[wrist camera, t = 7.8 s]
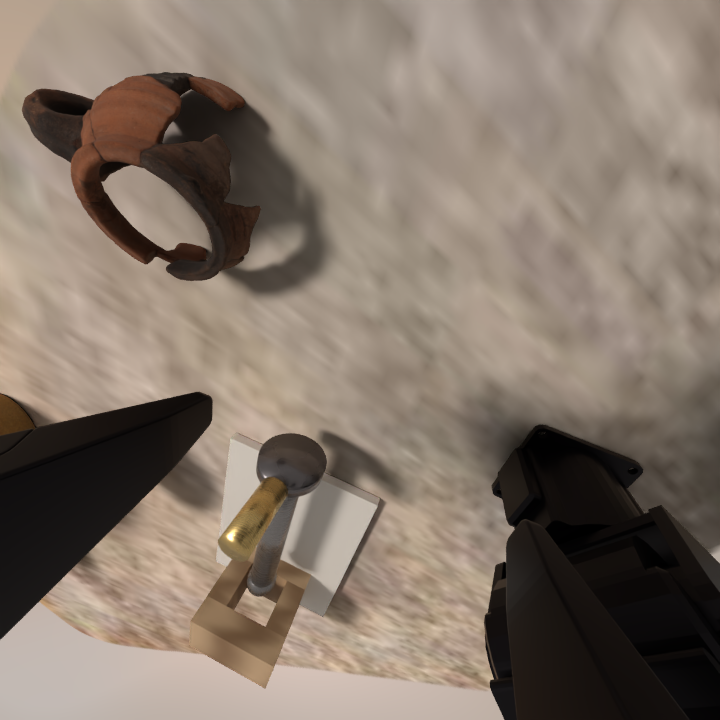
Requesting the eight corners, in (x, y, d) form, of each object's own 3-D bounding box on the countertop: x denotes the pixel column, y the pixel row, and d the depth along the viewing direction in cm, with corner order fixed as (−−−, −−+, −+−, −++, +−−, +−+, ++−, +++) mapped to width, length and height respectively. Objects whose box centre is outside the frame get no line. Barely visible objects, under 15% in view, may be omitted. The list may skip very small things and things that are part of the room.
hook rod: (337, 445, 22) (277, 559, 14) (293, 572, 30) (240, 688, 22) (281, 421, 23) (195, 518, 15) (252, 551, 30) (187, 658, 23)
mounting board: (379, 498, 26) (377, 505, 25) (325, 609, 35) (323, 616, 34) (236, 432, 27) (230, 438, 27) (220, 554, 36) (215, 561, 36)
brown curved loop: (299, 99, 17) (236, 164, 12) (284, 241, 24) (242, 315, 19) (63, -7, 15) (-120, 19, 10) (127, 182, 22) (40, 247, 18)
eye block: (311, 574, 31) (273, 667, 25) (301, 598, 34) (265, 688, 27) (244, 540, 32) (190, 621, 26) (239, 565, 35) (189, 645, 28)
